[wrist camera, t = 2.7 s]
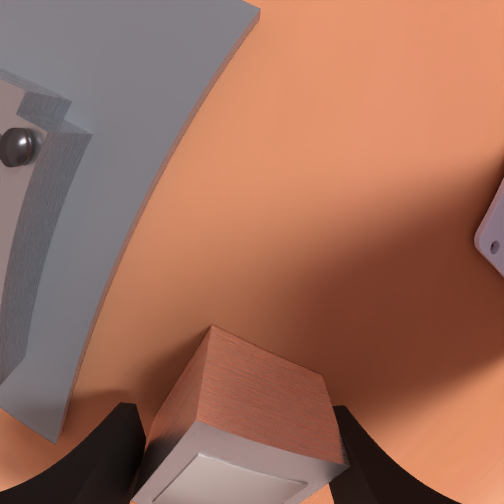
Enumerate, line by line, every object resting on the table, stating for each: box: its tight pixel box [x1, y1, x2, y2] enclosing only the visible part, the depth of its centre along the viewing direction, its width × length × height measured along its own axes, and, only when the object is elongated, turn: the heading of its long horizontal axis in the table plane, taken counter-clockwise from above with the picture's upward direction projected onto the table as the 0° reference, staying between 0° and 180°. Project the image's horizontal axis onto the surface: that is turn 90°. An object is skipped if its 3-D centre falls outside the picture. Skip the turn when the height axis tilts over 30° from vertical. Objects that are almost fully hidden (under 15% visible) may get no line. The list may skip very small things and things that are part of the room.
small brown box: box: [131, 325, 350, 504], centre depth 10 cm, size 5×6×4 cm
